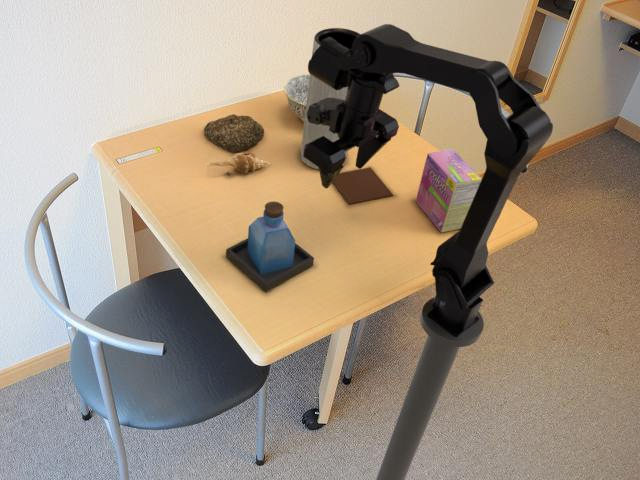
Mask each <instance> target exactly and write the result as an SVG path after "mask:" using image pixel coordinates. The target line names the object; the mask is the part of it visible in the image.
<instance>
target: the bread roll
mask: <svg viewBox="0 0 640 480" xmlns="http://www.w3.org/2000/svg"><path fill="white" fill-rule="evenodd" d="M203 131H204V134H205V135H206V137H207V138H208V140H210V141H211V142H213V143H214V144H216V145H217V146H220V147H222V148H224V149H225V150H227V151H230V152H234V153H235V152H240V151H241V152H243V151H245V150H248V149H250V148H252V147H254V146H256V145H257V143H258V142H259V141H261V139H263V137H264V135H265V128H263V126H262V124H260V123H259V122H258V121H256V120H254V119H253V118H252V116H249V115H238V114H237V115H236V114H235V113H233V114H229V115H227V116H224V117H221V118H217V119H215V120H210V121H209V122H207V123H206V125H205V126H204V129H203Z"/></svg>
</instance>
